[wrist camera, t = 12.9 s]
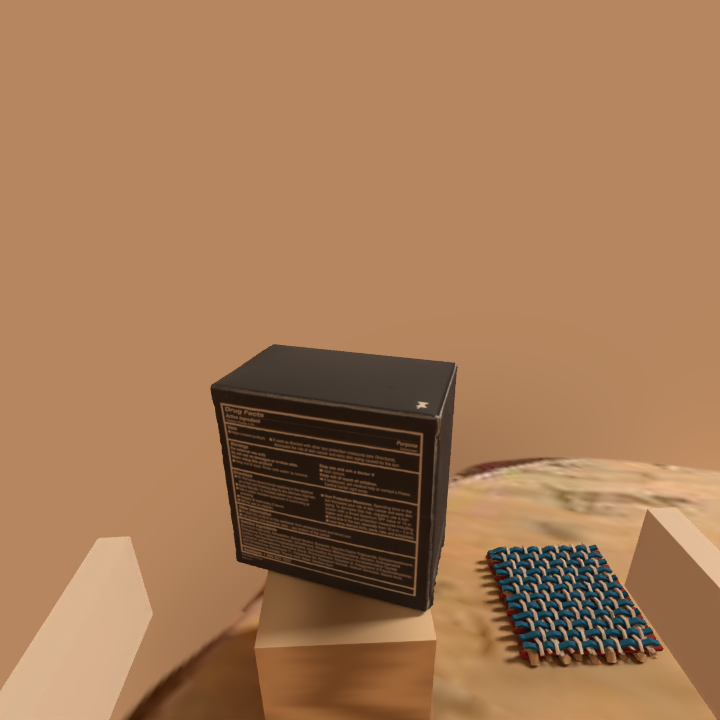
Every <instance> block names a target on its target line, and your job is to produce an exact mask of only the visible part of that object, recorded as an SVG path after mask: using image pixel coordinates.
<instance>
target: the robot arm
mask: <svg viewBox="0 0 720 720" xmlns="http://www.w3.org/2000/svg"><path fill="white" fill-rule="evenodd" d="M625 587H626V588H627V590H628V591H629V593H630V594H631V595H632V597H633V598H634V600H635V601H636V603H637V604H638V606H639V607H640V608H641V610H642V611H643V613H644V614H645V616H646V617H647V619H648V620H649V621H650V623H651V624H652V626H653V627H654V629H655V630H656V632H657V633H658V634H659V636H660V637H661V639H662V640H663V642H664V643H665V645H666V646H667V647H668V649H669V650H670V652H671V653H672V655H673V656H674V658H675V659H676V660H677V662H678V663H679V665H680V666H681V668H682V669H683V671H684V672H685V674H686V675H687V676H688V678H689V679H690V681H691V682H692V684H693V685H694V687H695V688H696V689H697V691H698V692H699V694H700V695H701V697H702V698H703V700H704V701H705V702H706V704H707V705H708V707H709V708H710V710H711V711H712V713H713V714H714V715H715V717H716V718H717V720H720V550H719V549H718V548H717V547H716V546H715V545H714V544H713V543H712V542H711V541H710V540H709V539H708V538H707V537H706V536H705V535H704V534H703V533H702V532H701V531H700V530H699V529H698V528H697V527H696V526H695V525H694V524H693V523H692V522H691V521H690V520H689V519H688V518H687V517H686V516H685V515H684V514H683V513H682V512H680V511H679V510H678V509H677V508H676V507H673V508H654V509H647V512H646V515H645V519H644V522H643V526H642V529H641V532H640V536H639V539H638V542H637V546H636V549H635V552H634V556H633V559H632V563H631V566H630V569H629V573H628V576H627V579H626V583H625ZM152 614H153V613H152V610H151V606H150V603H149V600H148V596H147V593H146V590H145V586H144V583H143V579H142V576H141V573H140V570H139V566H138V562H137V559H136V556H135V552H134V549H133V546H132V542H131V539H130V537H112V538H98V539H97V541H96V542H95V544H94V546H93V547H92V549H91V550H90V552H89V553H88V555H87V557H86V558H85V560H84V561H83V563H82V564H81V566H80V567H79V569H78V571H77V572H76V574H75V575H74V577H73V578H72V580H71V581H70V583H69V585H68V586H67V588H66V589H65V591H64V592H63V594H62V596H61V597H60V599H59V600H58V602H57V603H56V605H55V607H54V608H53V610H52V611H51V613H50V614H49V616H48V618H47V619H46V621H45V622H44V624H43V625H42V627H41V628H40V630H39V632H38V633H37V635H36V636H35V638H34V639H33V641H32V642H31V644H30V646H29V647H28V649H27V650H26V652H25V654H24V655H23V656H22V658H21V660H20V661H19V663H18V664H17V666H16V667H15V669H14V671H13V672H12V674H11V675H10V677H9V678H8V680H7V682H6V683H5V685H4V686H3V688H2V689H1V691H0V720H109V719H110V717H111V715H112V712H113V710H114V707H115V705H116V702H117V700H118V697H119V695H120V693H121V690H122V687H123V685H124V683H125V680H126V678H127V675H128V673H129V670H130V668H131V666H132V663H133V661H134V658H135V656H136V653H137V651H138V649H139V646H140V644H141V641H142V639H143V636H144V634H145V631H146V629H147V627H148V624H149V622H150V619H151V617H152Z"/></svg>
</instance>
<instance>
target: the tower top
mask: <svg viewBox="0 0 720 720" xmlns="http://www.w3.org/2000/svg"><path fill="white" fill-rule="evenodd" d="M254 650H255V657H256V663H257V670H258V676H259V683H260V689H261V696H262V702H263V709H264V715H265V720H430V711H431V699H432V687H433V675H434V663H435V651H436V636H435V631H434V626H433V621H432V616H431V611H430V609H428V610H427V611H426V612H424V611H420V610H417V609H413V608H409V607H405V606H402V605H397V604H394V603H390V602H386V601H383V600H378V599H375V598H372V597H367V596H364V595H360V594H357V593H352V592H349V591H345V590H341V589H338V588H334V587H330V586H327V585H323V584H319V583H315V582H311V581H308V580H304V579H300V578H297V577H293V576H289V575H286V574H282V573H278V572H274V571H270V570H268V575H267V581H266V586H265V592H264V597H263V603H262V608H261V614H260V619H259V625H258V630H257V636H256V641H255V647H254Z"/></svg>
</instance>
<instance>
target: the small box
mask: <svg viewBox="0 0 720 720" xmlns="http://www.w3.org/2000/svg"><path fill="white" fill-rule="evenodd" d="M457 368H458V367H457V364H456V363H451V362H443V361H431V360H422V359H412V358H403V357H392V356H382V355H373V354H363V353H352V352H344V351H334V350H323V349H314V348H304V347H295V346H285V345H276V344H274V345H272V346H270V347H268V348H267V349H265V350H263V351H262V352H261V353H259V354H258V355H256V356H255V357H253V358H252V359H250V360H249V361H247V362H246V363H244V364H243V365H242V366H241V367H239V368H237V369H236V370H234V371H233V372H231V373H230V374H228V375H226V376H225V377H223V378H222V379H220V380H219V381H217V382H215V383H214V384H212V385H211V395H212V400H213V404H214V406H215V413H216V419H217V423H218V428H219V434H220V442H221V445H222V455H223V464H224V470H225V476H226V484H227V490H228V497H229V504H230V508H231V519H232V524H233V530H234V539H235V547H236V558H237V561H238V562H241V563H245V564H249V565H252V566H256V567H259V568H263V569H267V570H270V571H274V572H278V573H282V574H286V575H289V576H293V577H297V578H300V579H304V580H308V581H311V582H315V583H319V584H323V585H327V586H330V587H334V588H338V589H341V590H345V591H349V592H352V593H357V594H360V595H364V596H367V597H372V598H375V599H378V600H383V601H386V602H390V603H394V604H397V605H402V606H405V607H409V608H413V609H417V610H420V611H424V612H426V611H427V610H428V609H430V607H431V606H432V605H433V599H434V597H433V595H434V594H433V593H434V589H433V588H434V586H435V585H436V582H435V579H436V576H437V573H438V572H437V570H438V564H439V559H440V557H441V556H440V554H441V548H442V547H443V546H444V538H445V527H446V509H447V495H448V481H449V466H450V455H451V439H452V426H453V413H454V398H455V385H456V373H457Z"/></svg>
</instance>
